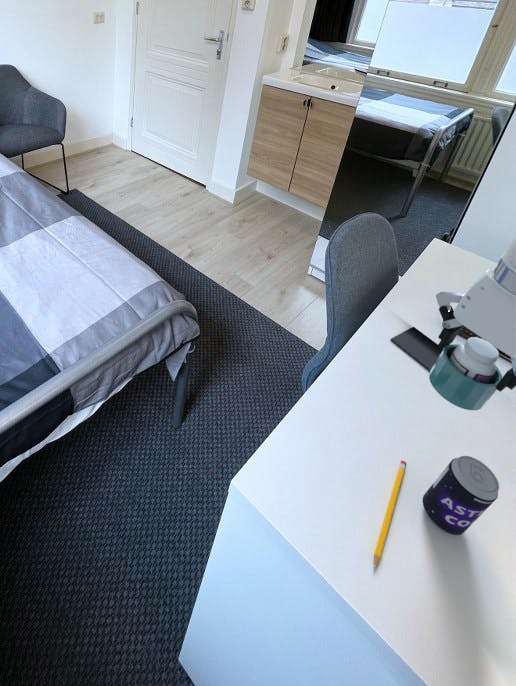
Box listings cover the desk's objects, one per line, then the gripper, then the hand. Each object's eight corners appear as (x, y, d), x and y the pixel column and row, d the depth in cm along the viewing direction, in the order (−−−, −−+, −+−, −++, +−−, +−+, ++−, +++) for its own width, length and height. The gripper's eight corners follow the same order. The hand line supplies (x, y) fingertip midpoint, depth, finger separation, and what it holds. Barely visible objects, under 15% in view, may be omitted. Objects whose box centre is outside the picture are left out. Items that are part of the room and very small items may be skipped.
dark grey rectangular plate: (470, 353, 94) (470, 351, 94) (435, 375, 88) (436, 374, 88) (425, 320, 102) (425, 319, 102) (390, 339, 96) (390, 338, 96)
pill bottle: (475, 384, 70) (503, 344, 66) (477, 409, 66) (507, 368, 62) (437, 367, 73) (461, 327, 68) (437, 390, 69) (463, 350, 64)
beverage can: (419, 520, 65) (455, 478, 59) (420, 486, 69) (453, 444, 63) (464, 547, 62) (505, 506, 56) (461, 510, 66) (500, 469, 61)
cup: (493, 398, 68) (511, 374, 65) (468, 418, 65) (487, 394, 62) (444, 361, 74) (459, 338, 71) (419, 378, 71) (434, 354, 68)
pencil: (405, 465, 72) (407, 463, 71) (376, 571, 59) (378, 569, 58) (400, 461, 72) (401, 459, 72) (370, 566, 59) (371, 564, 59)
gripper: (625, 316, 53) (550, 402, 62) (473, 239, 67) (429, 318, 75) (602, 336, 50) (526, 424, 58) (448, 251, 63) (404, 332, 72)
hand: (472, 364), depth 67 cm, fingers closed on cup, 7 cm apart
